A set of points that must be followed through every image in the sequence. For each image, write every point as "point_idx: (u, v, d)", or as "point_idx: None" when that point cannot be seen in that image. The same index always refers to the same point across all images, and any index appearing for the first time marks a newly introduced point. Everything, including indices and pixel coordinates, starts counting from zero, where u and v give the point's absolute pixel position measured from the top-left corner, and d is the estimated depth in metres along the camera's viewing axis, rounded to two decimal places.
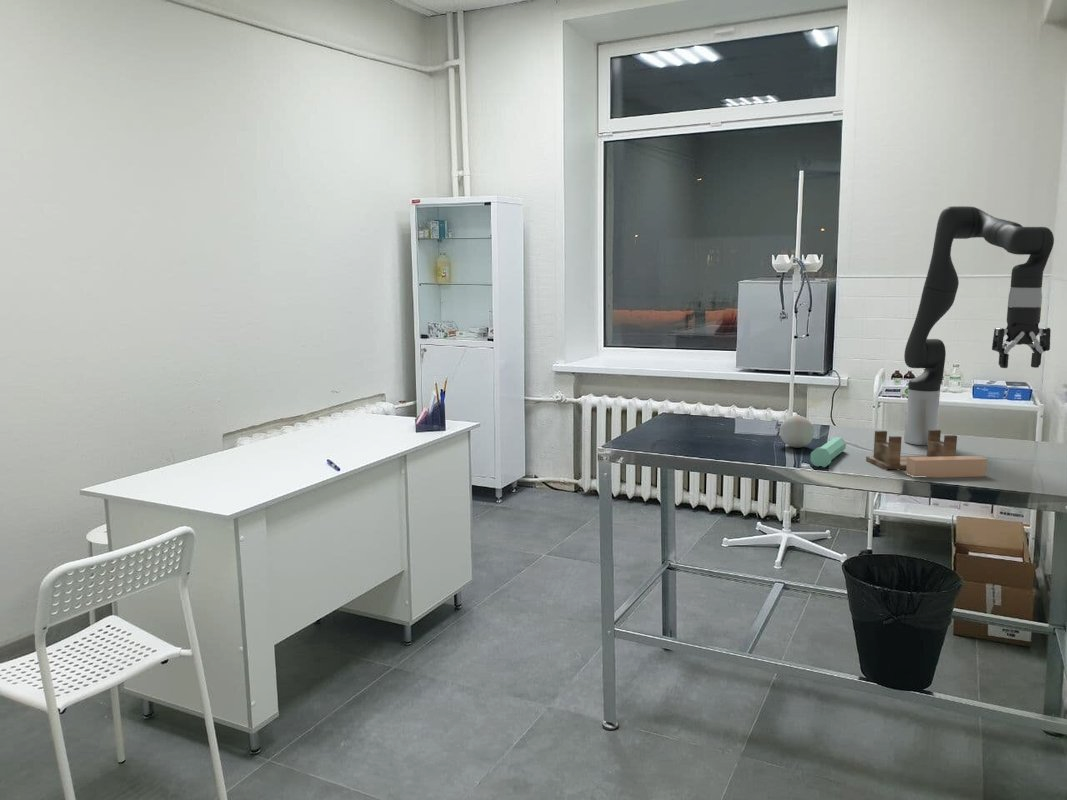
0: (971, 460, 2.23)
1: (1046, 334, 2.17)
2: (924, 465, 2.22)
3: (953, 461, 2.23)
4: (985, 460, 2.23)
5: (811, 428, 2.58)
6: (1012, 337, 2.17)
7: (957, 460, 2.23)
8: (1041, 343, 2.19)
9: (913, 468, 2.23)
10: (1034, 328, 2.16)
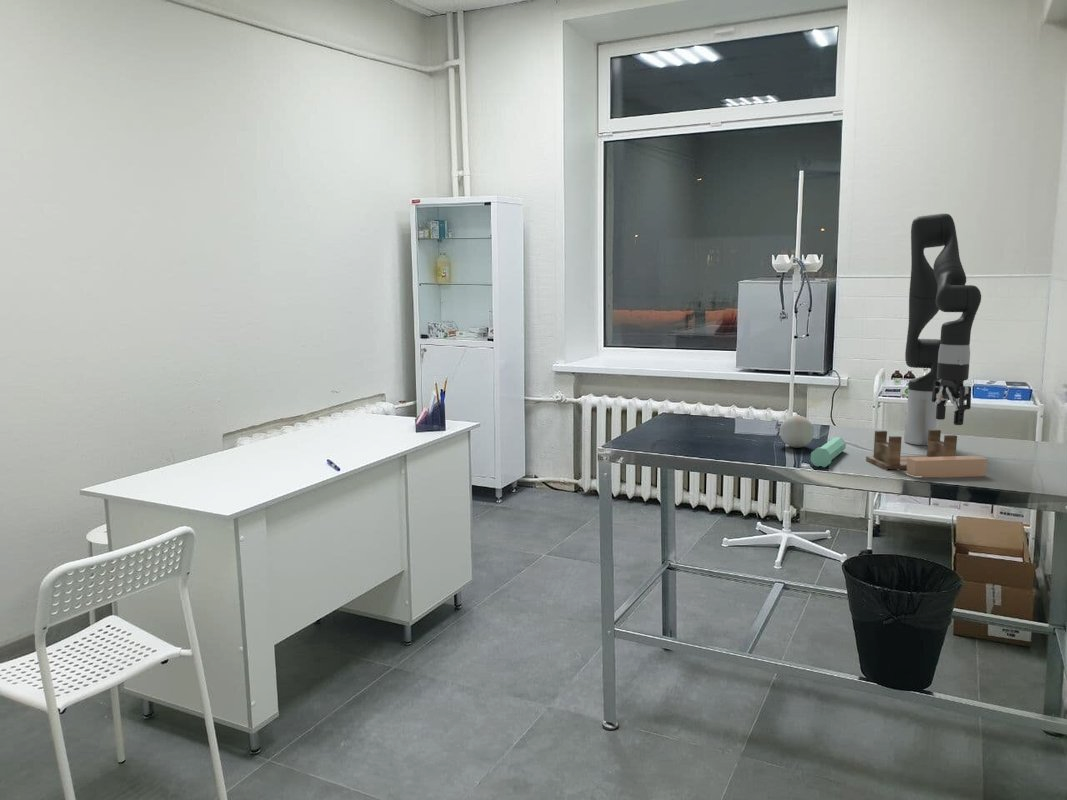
0: (971, 460, 2.23)
1: None
2: (924, 465, 2.22)
3: (953, 461, 2.23)
4: (985, 460, 2.23)
5: (811, 428, 2.58)
6: None
7: (957, 460, 2.23)
8: None
9: (913, 468, 2.22)
10: None
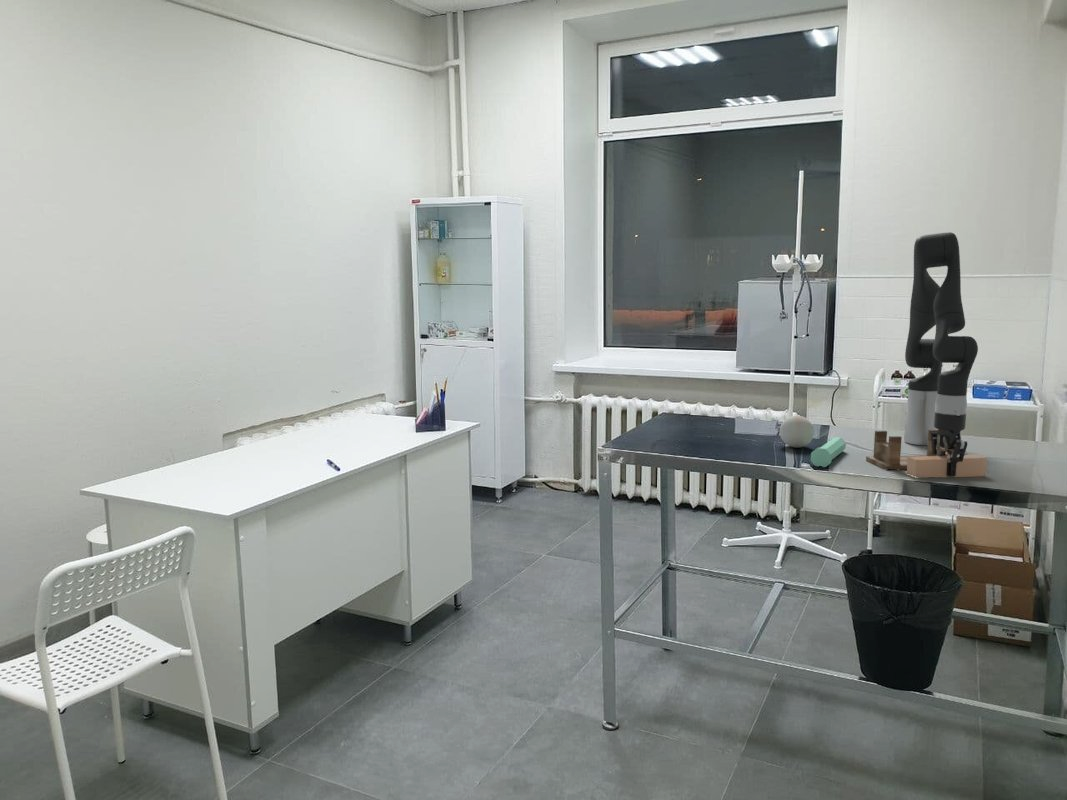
0: (971, 459, 2.23)
1: None
2: (925, 464, 2.22)
3: None
4: (985, 459, 2.23)
5: (811, 428, 2.58)
6: None
7: None
8: None
9: (914, 467, 2.22)
10: None
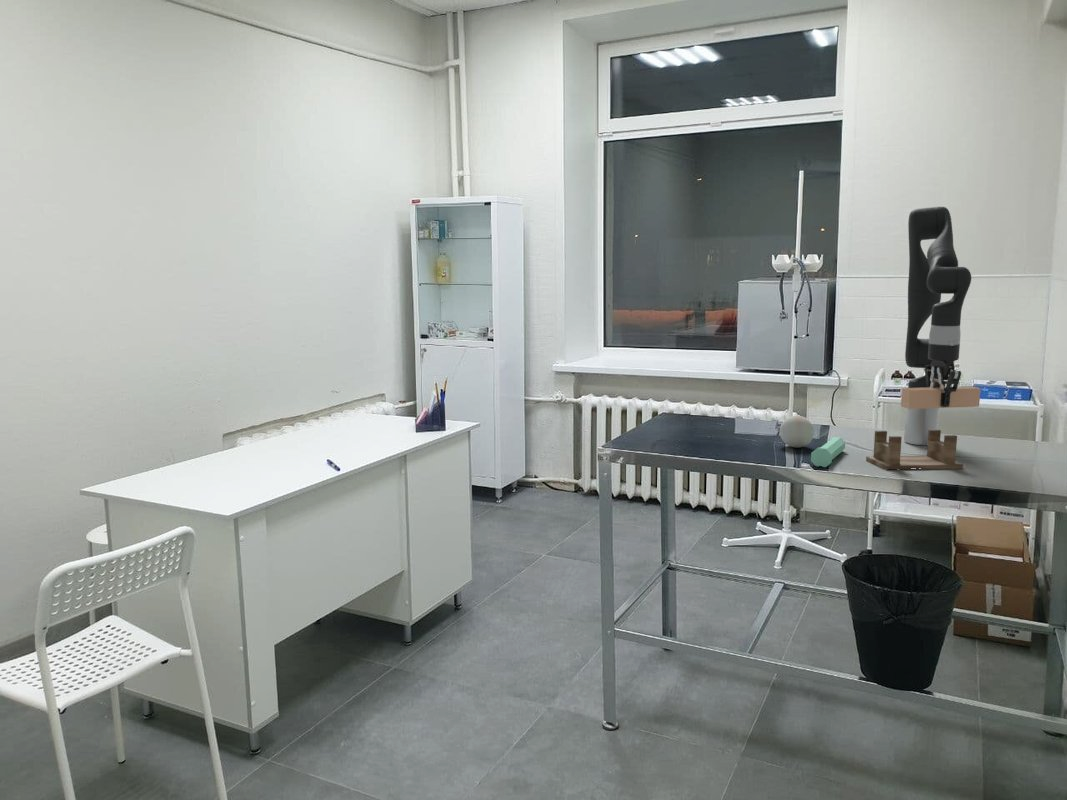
0: (964, 390, 2.25)
1: None
2: (919, 395, 2.24)
3: None
4: (979, 389, 2.26)
5: (811, 428, 2.58)
6: None
7: None
8: None
9: (908, 398, 2.25)
10: None
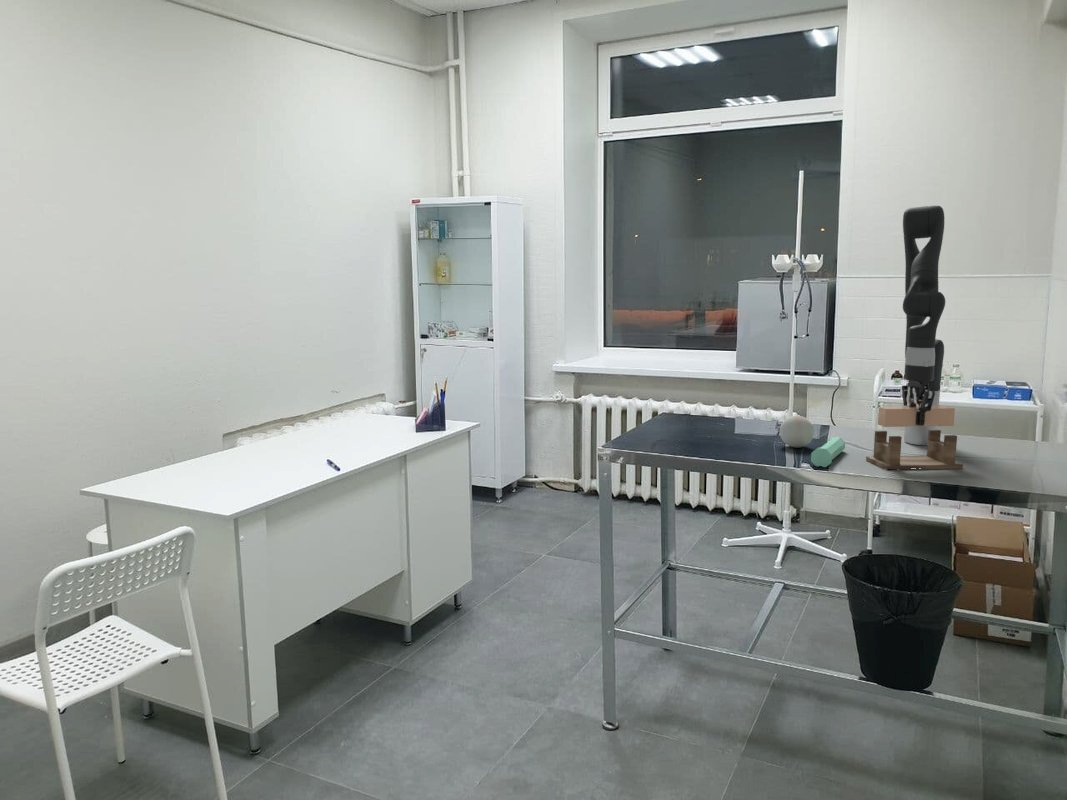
0: (939, 409, 2.34)
1: None
2: (894, 413, 2.33)
3: None
4: (953, 409, 2.34)
5: (811, 428, 2.58)
6: None
7: None
8: None
9: (884, 416, 2.34)
10: None
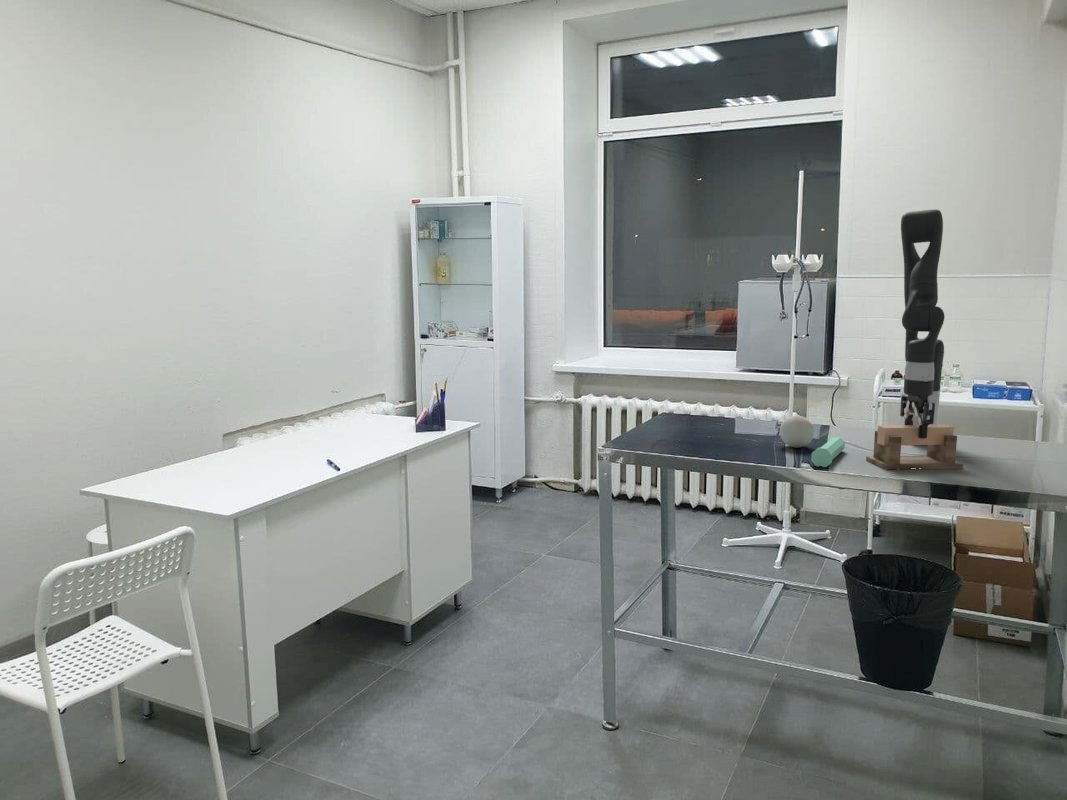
0: (938, 428, 2.35)
1: None
2: (893, 432, 2.34)
3: None
4: (952, 428, 2.35)
5: (811, 428, 2.58)
6: None
7: None
8: None
9: (883, 435, 2.34)
10: None
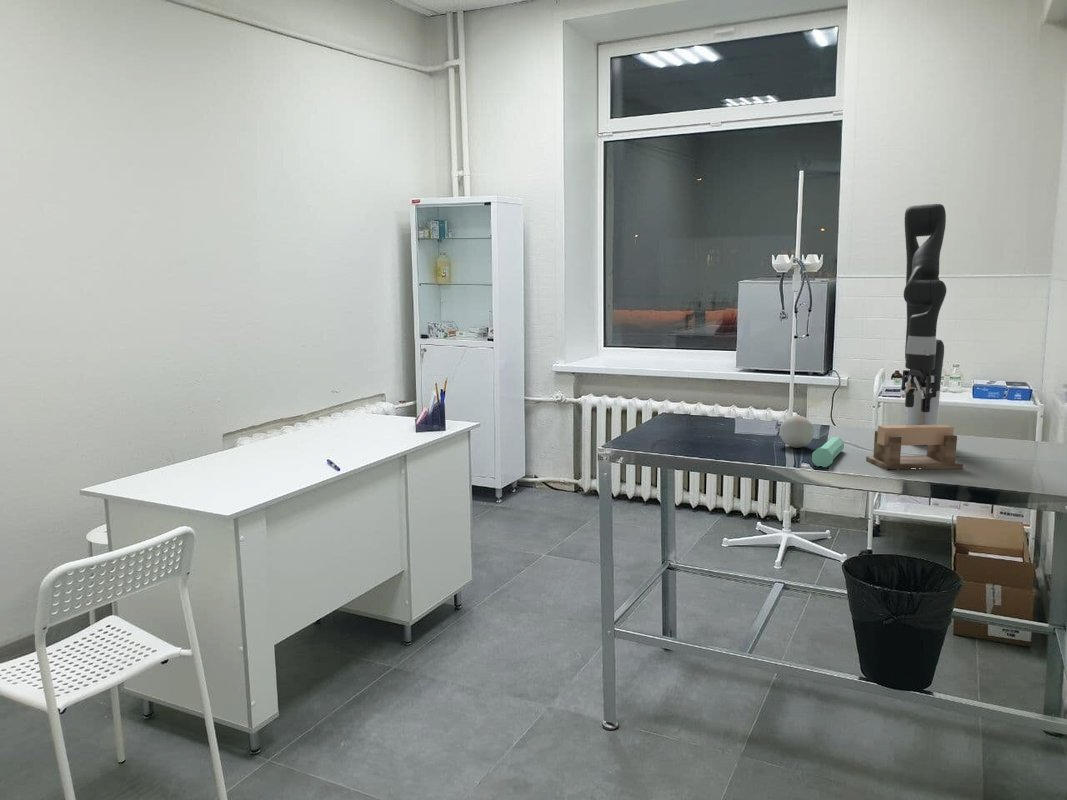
0: (938, 428, 2.35)
1: None
2: (893, 432, 2.34)
3: (921, 429, 2.34)
4: (952, 428, 2.35)
5: (811, 428, 2.58)
6: None
7: (925, 428, 2.34)
8: None
9: (883, 435, 2.34)
10: None
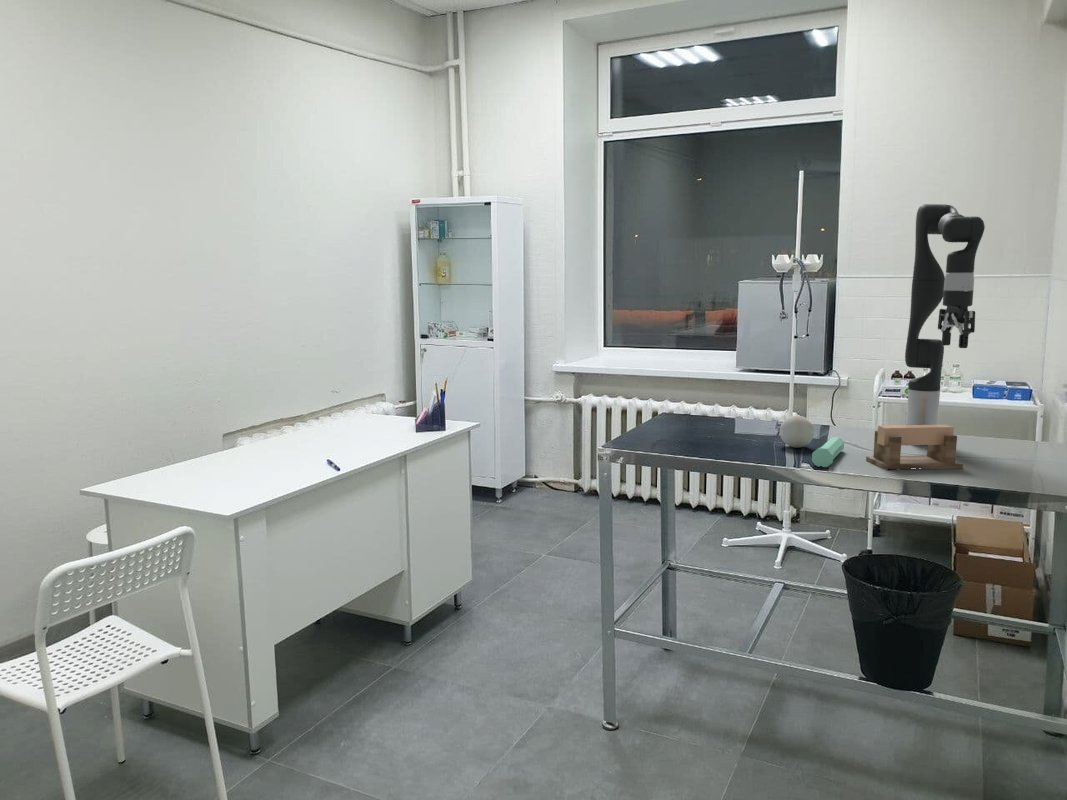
0: (938, 428, 2.35)
1: None
2: (893, 432, 2.34)
3: (921, 429, 2.34)
4: (952, 428, 2.35)
5: (811, 428, 2.58)
6: None
7: (925, 428, 2.34)
8: None
9: (883, 435, 2.34)
10: None
